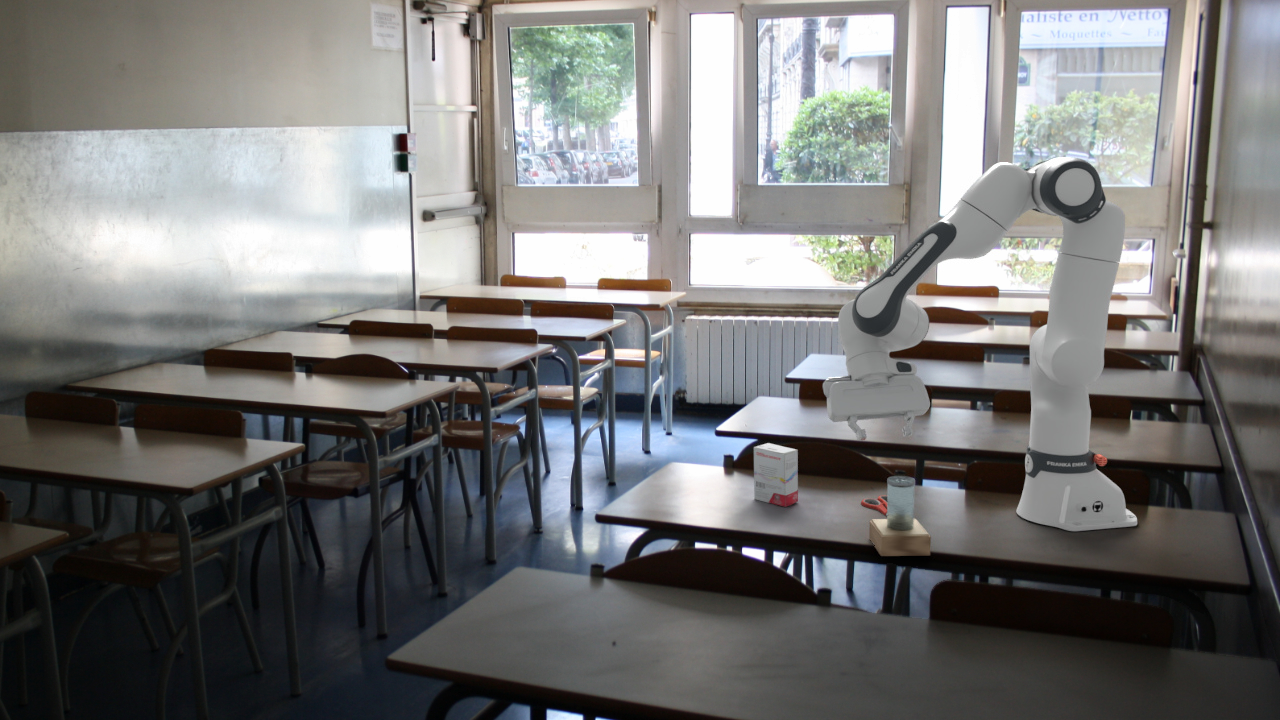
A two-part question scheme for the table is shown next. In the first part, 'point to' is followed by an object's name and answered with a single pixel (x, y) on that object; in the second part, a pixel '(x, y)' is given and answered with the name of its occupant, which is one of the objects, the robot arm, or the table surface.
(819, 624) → the table surface
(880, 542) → the beige box
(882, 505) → the scissors
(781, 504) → the ink box
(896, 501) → the translucent jar
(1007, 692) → the table surface
